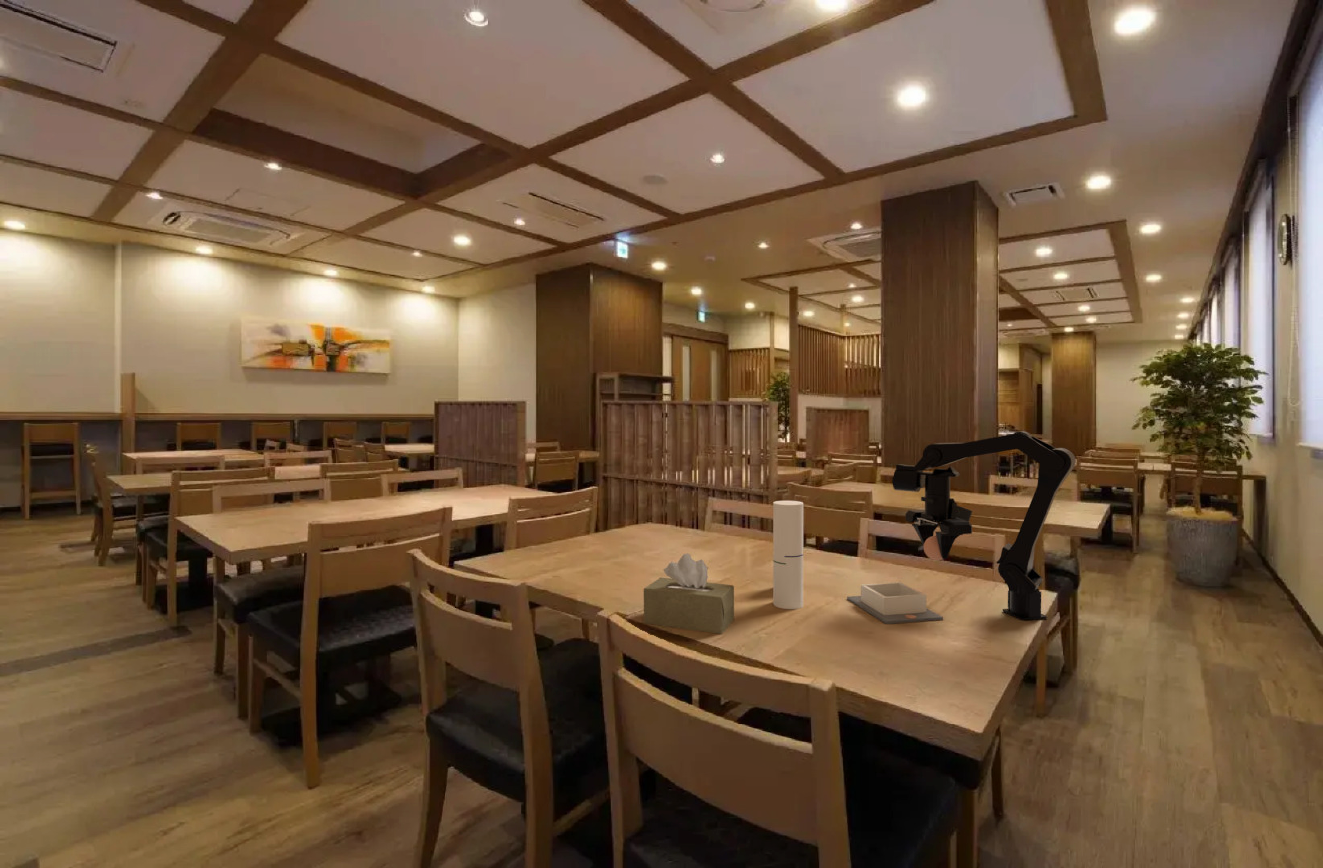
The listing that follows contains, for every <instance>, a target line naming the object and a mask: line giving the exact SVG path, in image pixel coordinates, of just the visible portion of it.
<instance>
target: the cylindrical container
mask: <svg viewBox="0 0 1323 868" xmlns="http://www.w3.org/2000/svg"><path fill="white" fill-rule="evenodd" d="M772 503H773V504H772V506H773V507H772V509H773V510H772V511H773V512H772V513H773V514H772V515H773V516H772V517H773V520H772V521H773V522H772V523H773V524H772V527H773V531H772V534H773V537H772V538H773V542H772V545H773V547H772V548H773V549H772V551H773V555H772V559H773V561H772V562H773V563H772V565H773V566H772V571H773V572H772V573H773V574H772V575H773V579H772V581H773V582H772V583H773V584H772V585H773V587H772V588H773V590H772V594H773V595H772V596H773V597H772V598H773V599H772V601H773V602H772V604H773V605H774V606H775V607H776V608H779V609H783V610H798V609H801V608H803V607H804V502H803V501H799V500H776V501H773V502H772Z"/></svg>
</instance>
